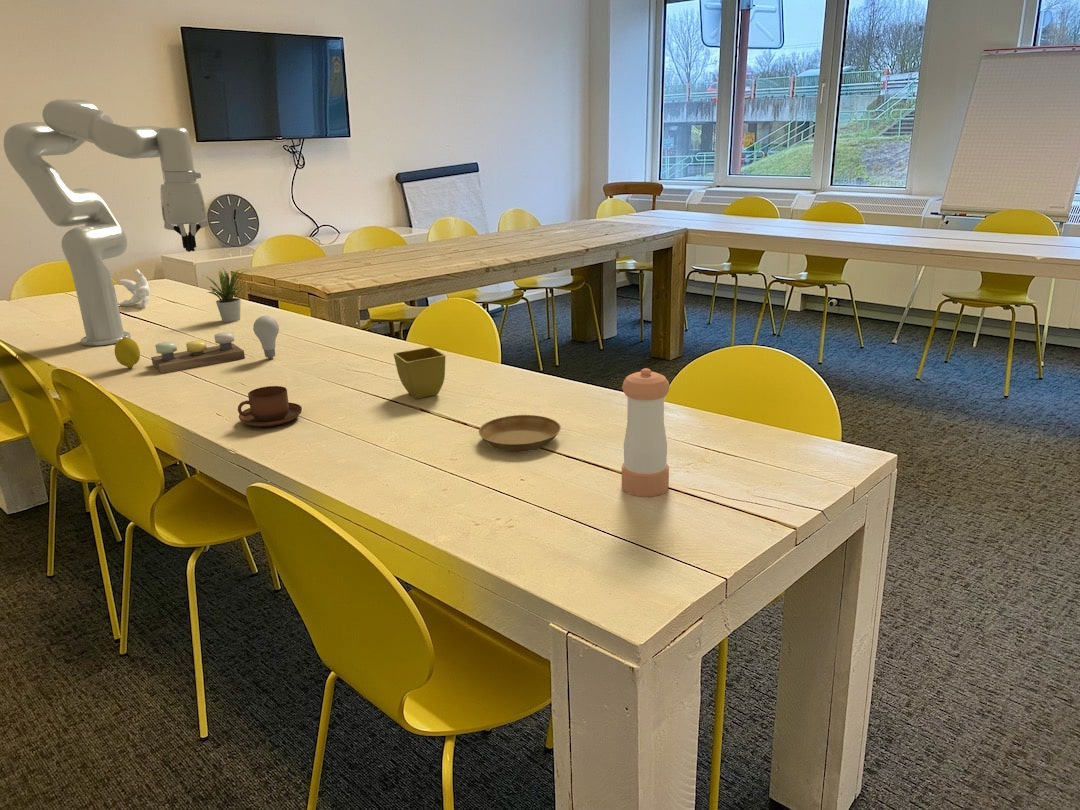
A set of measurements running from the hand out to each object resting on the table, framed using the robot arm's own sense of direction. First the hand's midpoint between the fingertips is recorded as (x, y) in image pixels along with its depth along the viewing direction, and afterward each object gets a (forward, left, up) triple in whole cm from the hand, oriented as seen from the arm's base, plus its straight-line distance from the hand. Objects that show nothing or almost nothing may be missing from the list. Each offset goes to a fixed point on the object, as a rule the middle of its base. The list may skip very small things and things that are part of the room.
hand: (190, 250), depth 216 cm
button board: (+16, -6, -26) cm, 31 cm away
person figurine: (-74, -3, -26) cm, 78 cm away
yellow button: (+16, -6, -25) cm, 30 cm away
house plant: (-26, +15, -26) cm, 39 cm away
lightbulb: (+26, +9, -26) cm, 38 cm away
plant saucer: (+114, +26, -26) cm, 120 cm away
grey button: (+16, +1, -24) cm, 29 cm away
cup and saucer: (+73, -6, -26) cm, 78 cm away
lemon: (+11, -21, -26) cm, 35 cm away
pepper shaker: (+143, +30, -26) cm, 149 cm away
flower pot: (+78, +25, -26) cm, 86 cm away
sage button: (+16, -13, -24) cm, 32 cm away
